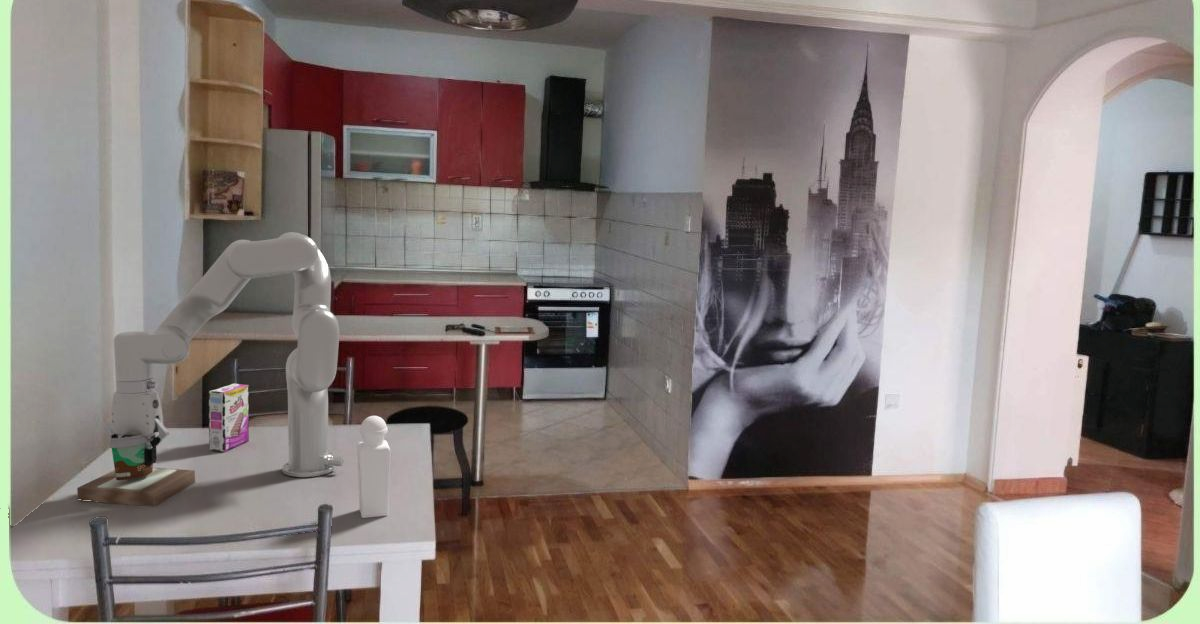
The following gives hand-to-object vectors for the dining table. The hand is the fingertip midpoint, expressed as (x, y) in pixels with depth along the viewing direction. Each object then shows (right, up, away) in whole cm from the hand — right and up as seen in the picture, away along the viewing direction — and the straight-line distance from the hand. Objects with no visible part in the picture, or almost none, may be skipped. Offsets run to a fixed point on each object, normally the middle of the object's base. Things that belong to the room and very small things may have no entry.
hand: (138, 462), depth 197 cm
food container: (+1, -3, 0) cm, 3 cm away
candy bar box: (+5, -2, +37) cm, 38 cm away
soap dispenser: (+56, -10, -7) cm, 57 cm away
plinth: (0, -7, +1) cm, 7 cm away
